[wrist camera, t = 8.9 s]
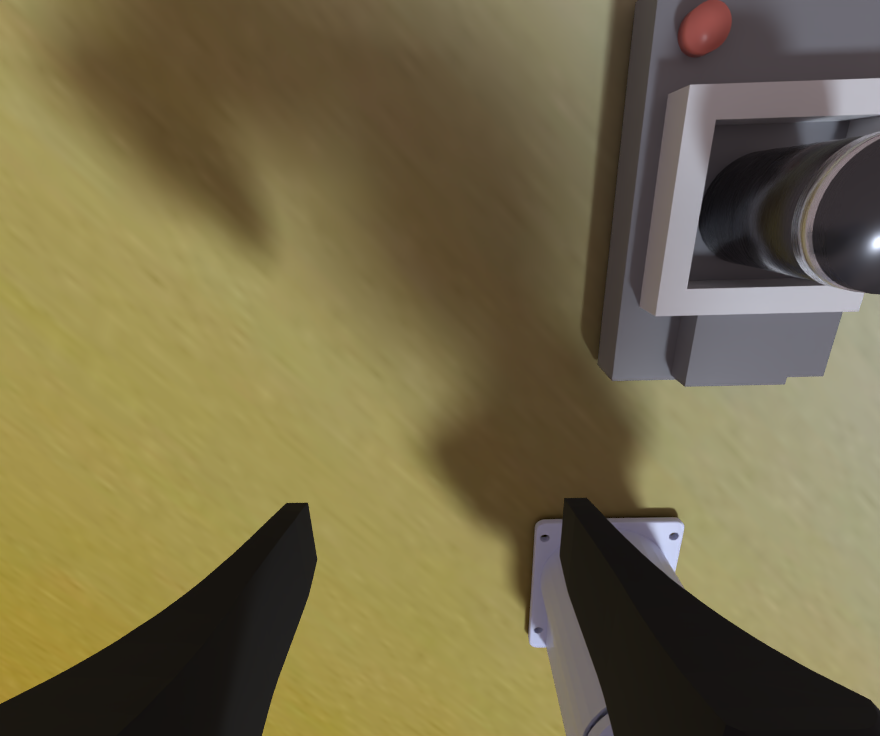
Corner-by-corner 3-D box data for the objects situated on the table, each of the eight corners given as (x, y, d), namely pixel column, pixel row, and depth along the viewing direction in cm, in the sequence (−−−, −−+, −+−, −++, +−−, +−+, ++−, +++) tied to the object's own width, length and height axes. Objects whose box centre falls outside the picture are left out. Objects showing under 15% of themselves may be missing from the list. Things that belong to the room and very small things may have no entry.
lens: (783, 272, 18) (941, 306, 12) (682, 256, 18) (797, 283, 12) (830, 159, 16) (1033, 138, 11) (721, 140, 16) (871, 109, 10)
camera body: (789, 359, 21) (852, 390, 18) (597, 364, 21) (624, 395, 18) (889, -8, 16) (1002, -58, 13) (635, 2, 16) (683, -45, 13)
